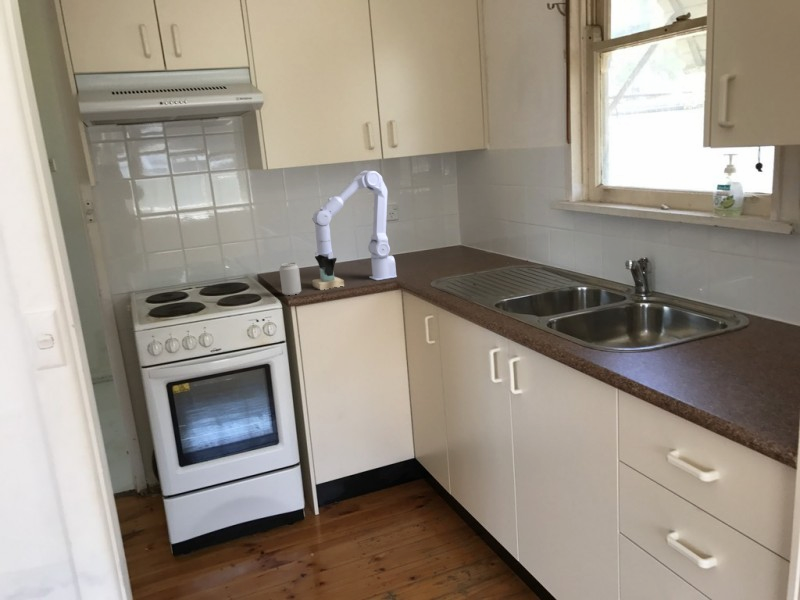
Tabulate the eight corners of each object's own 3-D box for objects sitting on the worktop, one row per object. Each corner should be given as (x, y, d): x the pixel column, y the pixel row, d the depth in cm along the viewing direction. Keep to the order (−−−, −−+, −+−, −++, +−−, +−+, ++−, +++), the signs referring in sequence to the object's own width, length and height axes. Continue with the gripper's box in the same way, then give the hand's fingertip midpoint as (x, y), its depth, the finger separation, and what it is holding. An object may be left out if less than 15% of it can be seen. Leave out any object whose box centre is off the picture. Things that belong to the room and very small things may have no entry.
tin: (331, 278, 269) (329, 266, 268) (334, 280, 265) (333, 268, 264) (320, 280, 268) (319, 268, 266) (324, 281, 264) (322, 269, 262)
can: (283, 296, 254) (279, 266, 251) (281, 293, 261) (277, 263, 258) (302, 294, 256) (299, 263, 253) (300, 290, 263) (296, 261, 260)
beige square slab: (336, 283, 274) (335, 276, 273) (344, 287, 265) (343, 280, 264) (312, 287, 270) (312, 280, 269) (320, 291, 261) (319, 284, 260)
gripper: (308, 240, 268) (312, 272, 271) (319, 244, 255) (323, 278, 258) (325, 237, 270) (328, 270, 273) (337, 241, 257) (340, 275, 261)
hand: (327, 274), depth 266 cm, fingers open, 7 cm apart
